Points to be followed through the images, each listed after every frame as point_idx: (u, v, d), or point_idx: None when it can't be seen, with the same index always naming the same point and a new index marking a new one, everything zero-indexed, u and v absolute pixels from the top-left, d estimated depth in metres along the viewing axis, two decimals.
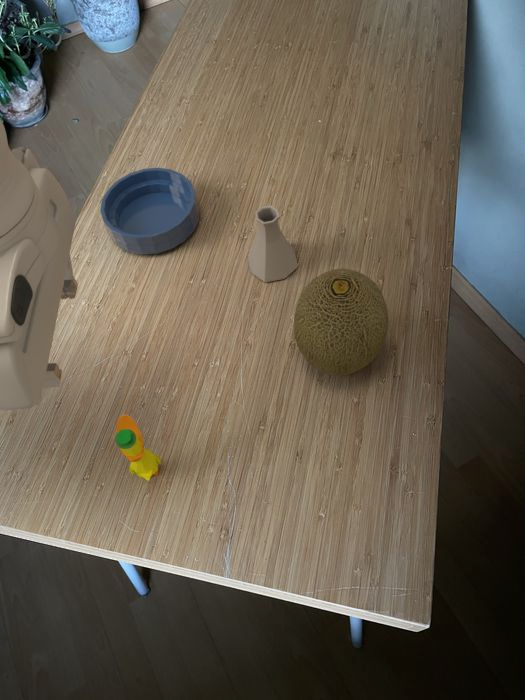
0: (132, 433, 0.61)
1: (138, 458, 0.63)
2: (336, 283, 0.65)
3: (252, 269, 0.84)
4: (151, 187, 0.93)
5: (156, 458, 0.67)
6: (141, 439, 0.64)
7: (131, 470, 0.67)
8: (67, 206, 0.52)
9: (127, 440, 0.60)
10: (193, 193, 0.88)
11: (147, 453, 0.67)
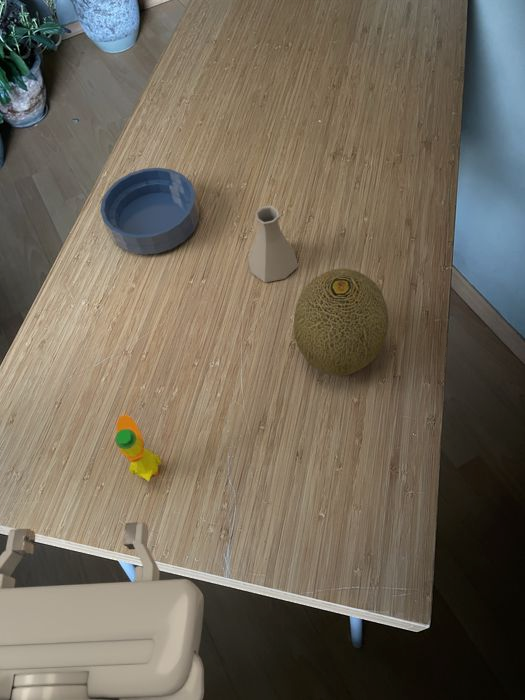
0: (132, 433, 0.61)
1: (138, 458, 0.63)
2: (336, 283, 0.65)
3: (252, 269, 0.84)
4: (151, 187, 0.93)
5: (156, 458, 0.67)
6: (141, 439, 0.64)
7: (131, 470, 0.67)
8: None
9: (127, 440, 0.60)
10: (193, 193, 0.88)
11: (147, 453, 0.67)
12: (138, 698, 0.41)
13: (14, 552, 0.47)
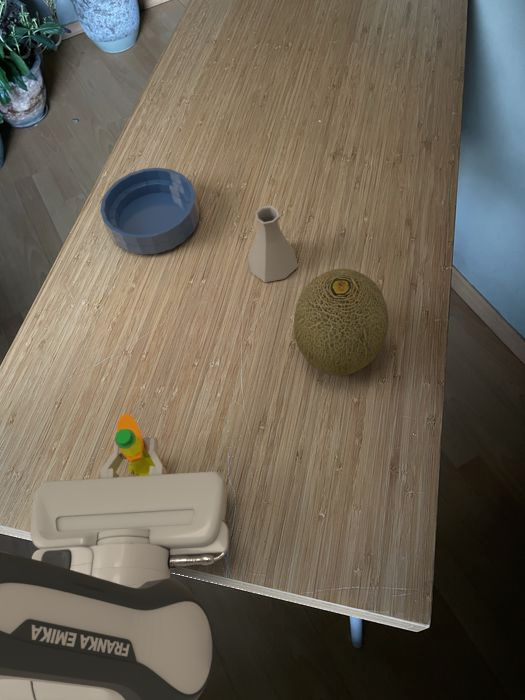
0: (132, 433, 0.61)
1: (137, 458, 0.63)
2: (336, 283, 0.65)
3: (252, 269, 0.84)
4: (151, 187, 0.93)
5: None
6: (141, 439, 0.64)
7: (130, 469, 0.67)
8: None
9: (126, 440, 0.60)
10: (193, 193, 0.88)
11: None
12: (183, 548, 0.59)
13: (119, 455, 0.65)
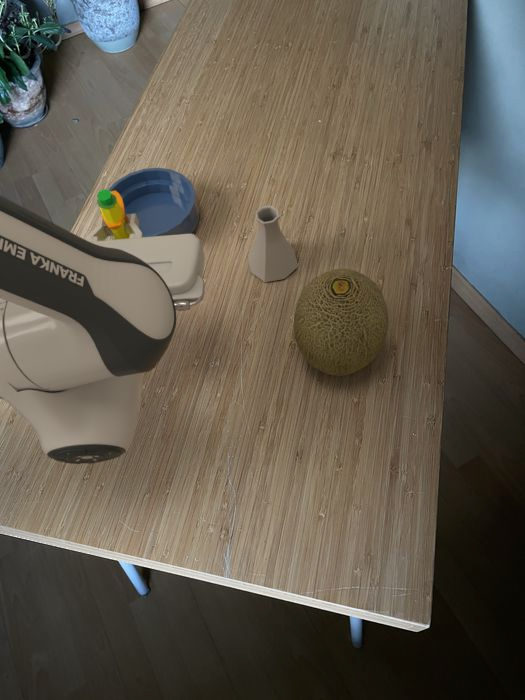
0: (113, 197, 0.65)
1: (116, 226, 0.67)
2: (336, 283, 0.65)
3: (252, 269, 0.84)
4: (151, 187, 0.93)
5: None
6: (123, 210, 0.67)
7: None
8: None
9: (106, 198, 0.64)
10: (193, 193, 0.88)
11: None
12: None
13: (103, 228, 0.68)
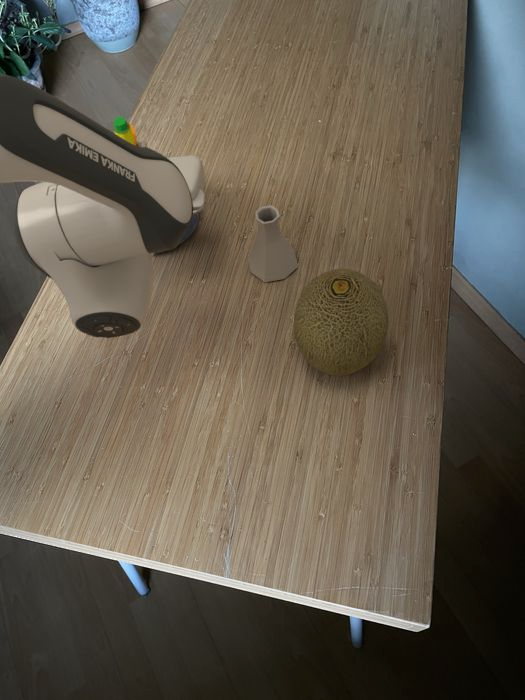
0: (127, 124, 0.76)
1: None
2: (336, 283, 0.65)
3: (252, 269, 0.84)
4: None
5: None
6: (135, 138, 0.78)
7: None
8: None
9: (121, 124, 0.75)
10: None
11: None
12: None
13: None
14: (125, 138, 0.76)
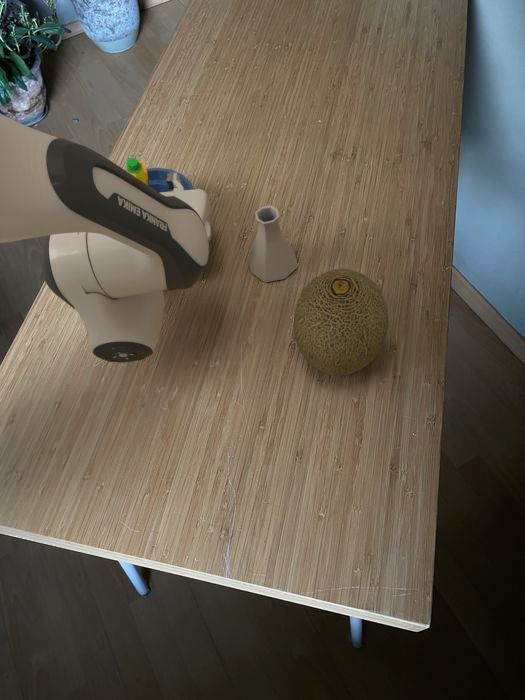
0: (139, 164, 0.82)
1: None
2: (336, 283, 0.65)
3: (252, 269, 0.84)
4: (151, 187, 0.93)
5: None
6: (146, 176, 0.84)
7: None
8: None
9: (134, 165, 0.80)
10: None
11: None
12: None
13: None
14: (137, 177, 0.82)
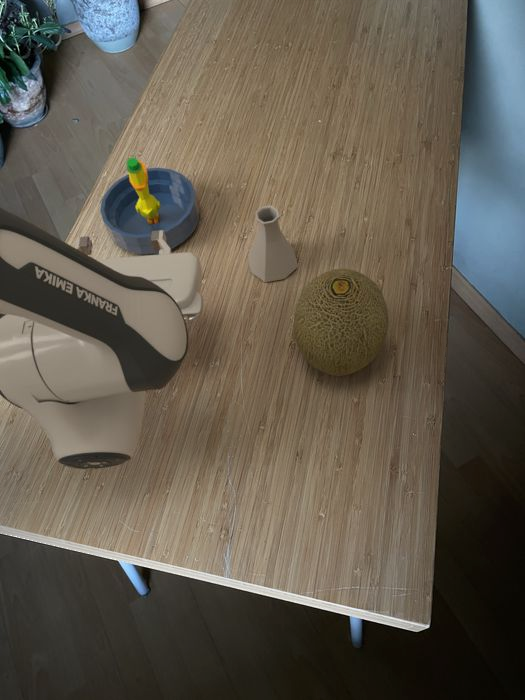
0: (139, 164, 0.82)
1: (141, 188, 0.83)
2: (336, 283, 0.65)
3: (252, 269, 0.84)
4: (151, 187, 0.93)
5: (157, 202, 0.87)
6: (146, 176, 0.84)
7: (136, 207, 0.87)
8: None
9: (134, 165, 0.80)
10: (193, 193, 0.88)
11: (150, 195, 0.87)
12: None
13: (80, 248, 0.72)
14: (137, 177, 0.82)
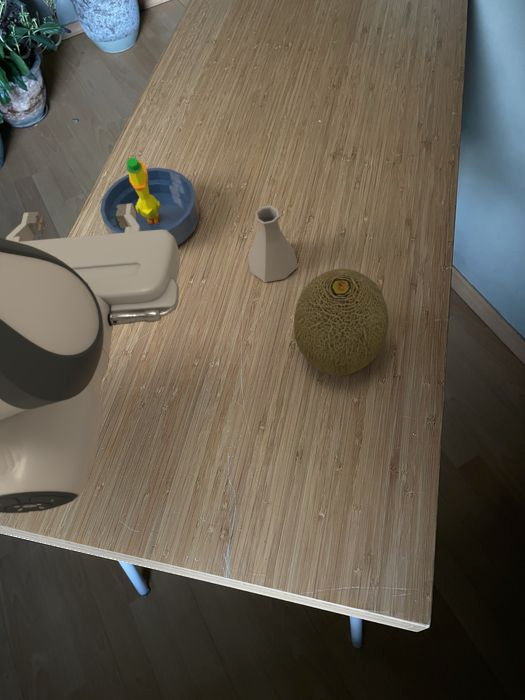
0: (139, 164, 0.82)
1: (141, 188, 0.83)
2: (336, 283, 0.65)
3: (252, 269, 0.84)
4: (151, 187, 0.93)
5: (157, 202, 0.87)
6: (146, 176, 0.84)
7: (136, 207, 0.87)
8: None
9: (134, 165, 0.80)
10: (193, 193, 0.88)
11: (150, 195, 0.87)
12: (126, 304, 0.52)
13: (28, 226, 0.58)
14: (137, 177, 0.82)
